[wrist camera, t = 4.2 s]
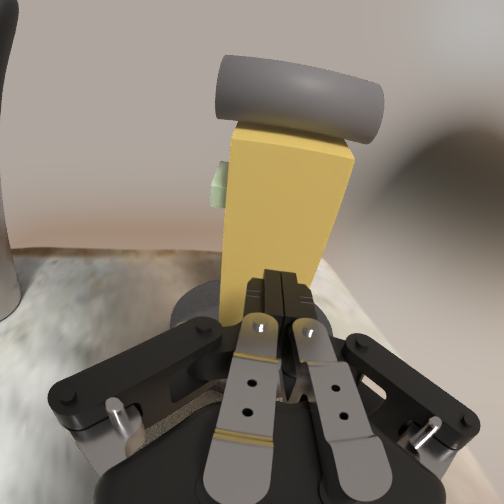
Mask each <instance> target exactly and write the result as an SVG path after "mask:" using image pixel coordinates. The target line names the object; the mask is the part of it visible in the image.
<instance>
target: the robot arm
mask: <svg viewBox="0 0 504 504" xmlns="http://www.w3.org/2000/svg"><path fill="white" fill-rule="evenodd" d="M18 14H19V8H18V2H17V0H0V113H1V100H2V91H3V84H4V79H5V73H6V68H7V64H8V59H9V55H10V51H11V48H12V43H13V39H14V35H15V31H16V26H17V21H18ZM20 299H21V289H20V286H19V282H18V277H17V274H16V271H15V267H14V262H13V258H12V253H11V249H10V244H9V240H8V234H7V228H6V222H5V215H4V208H3V200H2V191H1V179H0V320H2V319H4V318H5V317H7V316H8V315H9V314H10V313H11V312H12V311H13V310H14V309H15V308H16V307H17V305H18V304H19V302H20ZM278 359H281V367H280V370H279V378H280V385H281V392H282V400H283V402H280V401H276V389H277V375H278ZM364 375H366V376H367V377H368V378H369V379H371V380H372V381H373V382H375V383H376V384H377V385H378V386H380V387H381V388H382V389H383V390H384V391H385V392H386V396H387V397H386V400H385V399H383V398H382V397H380V396H379V395H378V394H377V393H375V392H374V391H373V390H372V389H370V388H369V387H368V386H367V385H365V384H364V383H363V382H362V379H363V377H364ZM220 379H227V383H226V388H225V392H224V396H223V400H222V401H220V402H215V403H212V404H209V405H206V406H204V407H202V408H200V409H198V410H197V411H195V412H194V413H192V414H191V415H190V416H188V417H187V418H185V419H184V420H183V421H181V422H180V423H179V424H177V425H176V426H174V427H173V428H171V429H170V430H169V431H167V432H166V433H164V434H163V435H161V436H160V437H158V438H157V439H155V440H154V441H152V442H151V443H149V444H148V445H146V446H145V447H143V448H142V449H140V450H139V451H137V452H136V453H135V451H136V450H137V449H139V448H140V447H141V446H142V445H143V444H144V442H145V439H146V431H145V429H147V428H149V427H150V426H152V425H154V424H155V423H157V422H158V421H160V420H162V419H163V418H165V417H167V416H168V415H170V414H171V413H173V412H175V411H176V410H178V409H179V408H181V407H182V406H184V405H185V404H187V403H189V402H190V401H192V400H193V399H195V398H196V397H198V396H199V395H201V394H202V393H204V392H205V391H206V390H208V389H209V388H211V387H212V386H214V385H215V384H216V383H217V381H218V380H220ZM48 403H49V406H50V407H51V409H52V411H53V412H54V414H55V415H56V417H57V419H58V421H59V423H60V424H61V426H62V427H63V429H64V430H65V432H66V433H67V434H68V436H69V437H70V438H71V439H72V440H73V441H74V442H75V443H76V445H77V446H78V447H79V449H80V450H81V451H82V452H83V454H84V456H85V457H86V459H87V460H88V462H89V463H90V464H91V466H92V467H93V469H94V470H95V472H96V473H97V474H98V476H99V477H100V479H99V480H98V482H97V484H96V487H95V490H94V504H446V492H445V488H444V486H443V484H442V482H441V479H442V477H443V475H444V474H445V472H446V471H447V469H448V467H449V466H450V464H451V462H452V460H453V459H454V457H455V455H456V453H457V452H458V451H459V450H460V449H462V448H463V447H464V446H465V445H466V444H467V443H468V442H469V441H470V440H471V439H473V438H474V437H475V436H476V435H477V434H478V433H479V431H480V421H479V418H478V417H477V415H476V414H475V413H474V412H473V411H472V410H470V409H469V408H467V407H466V406H465V405H463V404H462V403H461V402H459V401H458V400H456V399H455V398H454V397H452V396H451V395H449V394H448V393H447V392H445V391H444V390H442V389H441V388H440V387H438V386H437V385H436V384H434V383H433V382H431V381H430V380H429V379H427V378H426V377H424V376H423V375H422V374H420V373H419V372H418V371H416V370H415V369H413V368H412V367H411V366H409V365H408V364H407V363H405V362H404V361H402V360H401V359H400V358H398V357H397V356H395V355H394V354H393V353H391V352H390V351H389V350H387V349H386V348H384V347H383V346H382V345H380V344H379V343H377V342H376V341H375V340H373V339H372V338H370V337H369V336H367V335H364V334H360V333H354V334H351V335H349V336H348V337H347V338H346V341H345V340H342V339H338V338H335V337H332V336H330V335H328V333H327V330H326V328H325V326H324V325H323V324H322V323H320V322H319V321H318V318H317V314H316V310H315V306H314V301H313V299H312V293H311V290H310V289H309V288H308V287H307V286H306V285H305V284H299V283H298V281H297V276H296V273H293V272H286V271H278V270H270V269H264V273H263V279H260V278H253V277H252V278H251V280H250V281H249V282H248V283H247V289H246V296H245V303H244V310H243V319H242V321H241V322H239V323H238V324H236V325H233V326H227V327H222V325H221V323H220V322H218V321H217V320H216V319H213V318H211V317H205V316H200V317H195V318H192V319H190V320H188V321H186V322H184V323H182V324H180V325H178V326H176V327H174V328H172V329H170V330H168V331H166V332H164V333H162V334H160V335H158V336H156V337H154V338H151V339H149V340H147V341H145V342H143V343H141V344H139V345H137V346H135V347H133V348H131V349H129V350H126V351H124V352H122V353H120V354H118V355H116V356H114V357H112V358H109V359H107V360H105V361H103V362H101V363H99V364H96V365H94V366H92V367H90V368H88V369H85V370H83V371H81V372H79V373H77V374H74V375H72V376H70V377H68V378H65V379H63V380H61V381H59V382H57V383H55V384H54V385H53V386H52V387H51V389H50V390H49V393H48Z"/></svg>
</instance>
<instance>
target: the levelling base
mask: <svg viewBox="0 0 504 504" xmlns="http://www.w3.org/2000/svg"><path fill="white" fill-rule="evenodd" d="M220 286H221V280H216V281H211V282H208V283H205V284H202V285H199V286H197V287H195V288H193V289H192V290H190V291H189V292H187V293H186V294H185V295H184V296H183V297H181V299H180V300H179V301H178V302H177V304H176V306H175V307H174V310H173V313H172V318H171V329H172V328H174V327H176V326H178V325H180V324H182V323H184V322H186V321H188V320H190V319H192V318H195V317H200V316H205V317H211V318H213V319H216V320H217V321H218V322H219V305H220ZM314 306H315V310H316V314H317V318H318V321H319V322H320V323H322V324H323V325H324V326H325V328H326V330H327V333H328V335H330V336H332V337H333V333H332V328H331V325H330V323H329V321H328V319H327V317H326V316H325V314H324V313H323V312H322V310H321V309H320V308H319V307H318V306H317V305H316V304H314ZM280 367H281V359H278V375H277V389H276V398H277V397H282V392H281V385H280V378H279V370H280ZM226 383H227V379H220V380H218V381H217V383H216V384H215V385H214V386H212V387H211V389H214V390H216V391H218V392H221V393H224V392H225V388H226Z"/></svg>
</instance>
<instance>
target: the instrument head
mask: <svg viewBox="0 0 504 504" xmlns="http://www.w3.org/2000/svg"><path fill="white" fill-rule="evenodd" d="M215 110H216V117H217V118H218V119H224V120H235V121H238V123H237V126H236V128H235V130H234V133H233V135H232V138H231V146H230V158H229V162H224V161H221V162H220V164H219V166H218V169H217V171H216V174H215V176H214V179H213V181H212V184H211V193H210V207H219V208H225V221H224V236H223V251H222V268H221V286H220V305H219V322H220V323H221V325H222V327H227V326H233V325H236V324H238V323H239V322H241V321H242V319H243V310H244V303H245V296H246V289H247V283H248V282H249V281H250V280H251V278H252V277H253V278H260V279H263V273H264V269H270V270H278V271H286V272H293V273H296V276H297V281H298V283H299V284H305V285H306V286H307V287H308V288H309V287H310V285H311V282H312V280H313V277H314V275H315V272H316V270H317V267H318V265H319V262H320V259H321V257H322V254H323V251H324V249H325V246H326V244H327V241H328V238H329V235H330V233H331V230H332V227H333V225H334V222H335V219H336V216H337V213H338V210H339V207H340V205H341V202H342V199H343V196H344V193H345V190H346V187H347V184H348V181H349V178H350V175H351V172H352V169H353V165H354V162H355V159H354V157H353V155H352V153H351V151H350V149H349V147H348V145H347V144H346V142H345V140H344V139H346V140H350V141H354V142H358V143H362V144H369V143H371V142H372V141H373V139H374V138H375V136H376V134H377V133H378V130H379V128H380V125H381V121H382V117H383V111H384V94H383V90H382V88H381V86H380V85H379V84H377V83H374V82H370V81H367V80H364V79H360V78H357V77H353V76H350V75H345V74H342V73H338V72H334V71H330V70H326V69H321V68H316V67H312V66H307V65H301V64H296V63H290V62H284V61H278V60H271V59H263V58H255V57H245V56H234V55H225V56H224V57H223V59H222V62H221V65H220V69H219V73H218V79H217V86H216V97H215Z"/></svg>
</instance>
